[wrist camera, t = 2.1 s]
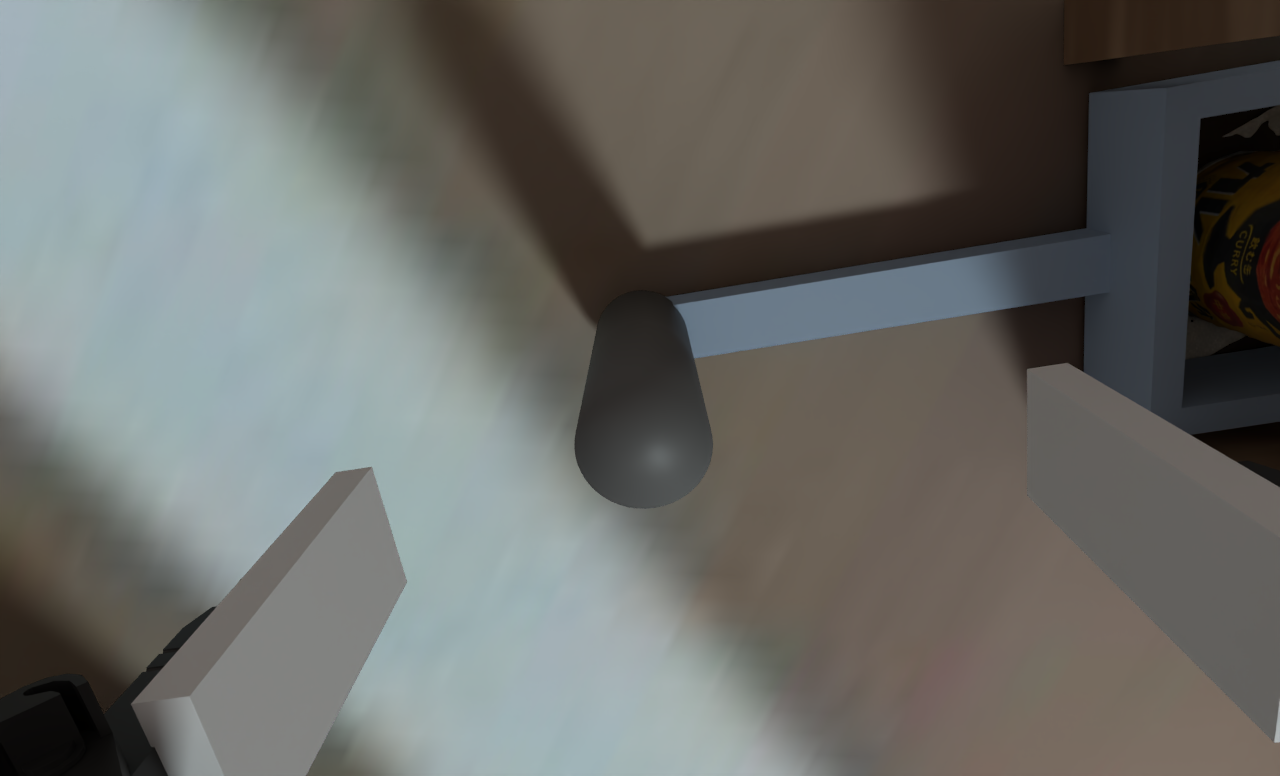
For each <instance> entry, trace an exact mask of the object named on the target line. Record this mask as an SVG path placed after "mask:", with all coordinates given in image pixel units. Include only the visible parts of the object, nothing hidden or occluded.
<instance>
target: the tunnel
mask: <svg viewBox="0 0 1280 776" xmlns="http://www.w3.org/2000/svg"><path fill="white" fill-rule="evenodd" d="M1273 36H1280V0H1064V65H1070V64H1077V63H1084V62H1091V61H1099V60H1106V59H1113V58H1121V57H1128V56H1135V55H1142V54H1150V53H1157V52H1164V51H1171V50H1179V49H1186V48H1193V47H1201V46H1208V45H1215V44H1222V43H1230V42H1237V41H1244V40H1251V39H1259V38H1266V37H1273ZM1191 436H1193V437H1195V438H1196V439H1198V440H1200V441H1202V442H1203V443H1205V444H1207V445H1208V446H1210V447H1212V448H1213V449H1215V450H1217V451H1219V452H1220V453H1222V454H1224V455H1225V456H1227V457H1229V458H1230V459H1232V460H1234V461H1236V462H1240V461H1247V460H1248V461H1251V462H1254V463H1257V464H1261V465H1264V466H1267V467H1270V468H1273V469H1276V470H1280V422H1274V423H1267V424H1260V425H1253V426H1247V427H1240V428H1233V429H1227V430H1220V431H1213V432H1206V433H1200V434H1193V435H1191Z"/></svg>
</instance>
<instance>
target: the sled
mask: <svg viewBox="0 0 1280 776" xmlns="http://www.w3.org/2000/svg"><path fill="white" fill-rule="evenodd" d="M1277 105H1280V60H1278V61H1272V62H1267V63H1261V64H1255V65H1249V66H1243V67H1238V68H1232V69H1226V70H1220V71H1214V72H1208V73H1203V74H1197V75H1191V76H1185V77H1179V78H1174V79H1168V80H1162V81H1156V82H1150V83H1145V84H1139V85H1133V86H1127V87H1121V88H1116V89H1110V90H1104V91H1098V92H1092V93H1089V131H1088V181H1087V228H1085V229H1078V230H1072V231H1066V232H1060V233H1054V234H1048V235H1042V236H1036V237H1029V238H1023V239H1017V240H1011V241H1005V242H999V243H993V244H987V245H981V246H974V247H968V248H962V249H956V250H950V251H944V252H938V253H932V254H925V255H919V256H913V257H907V258H901V259H895V260H889V261H883V262H876V263H870V264H864V265H858V266H852V267H846V268H840V269H834V270H828V271H821V272H815V273H809V274H803V275H797V276H791V277H785V278H779V279H772V280H766V281H760V282H754V283H748V284H742V285H736V286H730V287H723V288H717V289H711V290H705V291H699V292H693V293H687V294H681V295H675V296H668V297H665V296H663V295H661V294H658V293H655V292H651V291H633V292H628V293H626V294H623V295H621V296H619V297H617V298H616V299H615V300H613V301H612V302H611V303H610V304H609V305H608V306H607V307H606V308H605V310H604V311H603V313H602V315H601V317H600V319H599V322H598V326H597V331H596V336H595V341H594V346H593V350H592V355H591V360H590V365H589V370H588V375H587V380H586V385H585V390H584V395H583V400H582V405H581V410H580V415H579V419H578V424H577V429H576V435H575V455H576V460H577V463H578V466H579V468H580V471H581V473H582V474H583V476H584V478H585V479H586V481H587V482H588V483H589V484H590V486H591V487H592V488H593V489H594V490H595V491H597V492H598V493H599V494H600V495H602V496H603V497H605V498H606V499H608V500H610V501H612V502H614V503H617V504H619V505H623V506H626V507H632V508H645V509H646V508H656V507H660V506H664V505H667V504H670V503H673V502H675V501H677V500H679V499H681V498H682V497H684V496H685V495H687V494H688V493H689V492H690V491H692V490H693V489H694V488H695V487H696V486H697V485H698V483H699V482H700V481H701V479H702V478H703V477H704V475H705V473H706V471H707V469H708V466H709V464H710V461H711V456H712V449H713V441H712V433H711V429H710V424H709V420H708V416H707V412H706V407H705V403H704V399H703V395H702V390H701V386H700V382H699V378H698V374H697V369H696V365H695V361H694V358H700V357H706V356H712V355H719V354H725V353H731V352H738V351H744V350H750V349H756V348H763V347H769V346H775V345H782V344H788V343H794V342H800V341H807V340H813V339H819V338H826V337H832V336H838V335H844V334H851V333H857V332H863V331H870V330H876V329H882V328H888V327H895V326H901V325H907V324H914V323H920V322H926V321H933V320H939V319H945V318H951V317H958V316H964V315H970V314H977V313H983V312H989V311H995V310H1002V309H1008V308H1014V307H1021V306H1027V305H1033V304H1039V303H1046V302H1052V301H1058V300H1065V299H1071V298H1077V297H1083V296H1085V330H1084V373H1086V374H1087V375H1089V376H1091V377H1092V378H1094V379H1096V380H1098V381H1099V382H1101V383H1103V384H1104V385H1106V386H1108V387H1109V388H1111V389H1113V390H1115V391H1116V392H1118V393H1120V394H1121V395H1123V396H1125V397H1127V398H1128V399H1130V400H1132V401H1133V402H1135V403H1137V404H1138V405H1140V406H1142V407H1144V408H1145V409H1147V410H1149V411H1150V412H1152V413H1154V414H1156V415H1157V416H1159V417H1161V418H1162V419H1164V420H1166V421H1167V422H1169V423H1171V424H1173V425H1174V426H1176V427H1178V428H1179V429H1181V430H1183V431H1184V432H1186V433H1188V434H1190V435H1193V434H1200V433H1206V432H1213V431H1220V430H1227V429H1233V428H1240V427H1247V426H1253V425H1260V424H1267V423H1274V422H1280V347H1278V346H1270V347H1264V348H1257V349H1251V350H1244V351H1238V352H1231V353H1225V354H1218V355H1212V356H1205V357H1199V358H1192V359H1186V360H1185V353H1186V338H1187V322H1188V306H1189V291H1190V275H1191V260H1192V244H1193V228H1194V213H1195V197H1196V182H1197V166H1198V150H1199V135H1200V119H1201V118H1206V117H1212V116H1218V115H1224V114H1230V113H1236V112H1241V111H1247V110H1253V109H1259V108H1265V107H1271V106H1277Z"/></svg>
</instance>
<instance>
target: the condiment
mask: <svg viewBox="0 0 1280 776" xmlns="http://www.w3.org/2000/svg"><path fill="white" fill-rule="evenodd" d="M1265 121H1269V124H1268V126H1269V128H1270V129H1271V130H1273V131H1274V132H1275V134H1276V135H1280V105H1277V106H1275V107H1273V108H1272V109H1270V110H1268V111H1266V112H1265V113H1263V114H1262V115H1260V116H1259V117H1257V118H1255V119H1253V120H1251V121H1249V122H1247V123H1246V124H1244V125H1243V126H1241V127H1239V128H1237V129H1235V130H1233V131H1232V132H1230V133H1228V134H1226V135H1224V136H1223V137H1227V136H1232V135H1234V134H1239V135H1241V136H1243V137H1245V138H1248V137H1251V136H1252V135H1253V134H1254V133H1255V132H1256V131H1257V129H1258V128H1259V126H1260V125H1261V124H1262V123H1263V122H1265ZM1188 314H1189V315H1194V317H1191V316H1189V315H1188V322H1187V338H1186V353H1185V360H1186V359H1192V358H1199V357H1205V356H1210V355H1212V354H1213V353H1215V352H1217V351H1218V350H1220V349H1222V348H1223V347H1225V346H1227V345H1229V344H1231V343H1233V342H1235V341H1237V340H1239V339H1241V338H1243V337H1244V336H1245V335H1247V336H1249V337H1250V338H1255V339H1258V340H1260V341H1262V342H1265V343H1270V344H1274V345H1276V346H1278V347H1280V150H1279V151H1256V152H1254V151H1250V150H1249V151H1241V150H1239V151H1238V152H1235V153H1232V154H1230V155H1227V156H1223V157H1220V158H1219V159H1217V160H1214V161H1212V162H1208V163H1207V164H1205V165H1204V166H1203V167H1201V168H1200V169H1198V170H1197V182H1196V197H1195V213H1194V228H1193V244H1192V260H1191V275H1190V291H1189V306H1188ZM1197 317H1199V318H1197ZM1192 319H1193V320H1194V322H1191V320H1192Z"/></svg>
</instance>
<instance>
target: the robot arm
mask: <svg viewBox="0 0 1280 776" xmlns="http://www.w3.org/2000/svg"><path fill="white" fill-rule="evenodd" d="M1027 496H1028V497H1029V498H1030V499H1031V500H1032V501H1033V502H1034V503H1035V504H1036V505H1037V506H1038V507H1039V508H1040V509H1041V510H1042V511H1043V512H1044V513H1045V514H1046V515H1047V516H1048V517H1049V518H1050V519H1051V520H1052V521H1053V522H1054V523H1055V524H1056V525H1057V526H1058V527H1059V528H1060V529H1061V530H1062V531H1063V532H1064V533H1065V534H1066V535H1067V536H1068V537H1069V538H1070V539H1071V540H1072V541H1073V542H1074V543H1075V544H1076V545H1077V546H1078V547H1079V548H1080V549H1081V550H1082V551H1083V552H1084V553H1085V554H1086V555H1087V556H1088V557H1089V558H1090V559H1091V560H1092V561H1093V562H1094V563H1095V564H1096V565H1097V566H1098V567H1099V568H1100V569H1101V570H1102V571H1103V572H1104V573H1105V574H1106V575H1107V576H1108V577H1109V578H1110V579H1111V580H1112V581H1113V582H1114V583H1115V584H1116V585H1117V586H1118V587H1119V588H1120V589H1121V590H1122V591H1123V592H1124V593H1125V594H1126V595H1127V596H1128V597H1129V598H1130V599H1131V600H1132V601H1133V602H1134V603H1135V604H1136V605H1137V606H1138V607H1139V608H1140V609H1141V610H1142V611H1143V612H1144V613H1145V614H1146V615H1147V616H1148V617H1149V618H1150V619H1151V620H1152V621H1153V622H1154V623H1155V624H1156V625H1157V626H1158V627H1159V628H1160V629H1161V630H1162V631H1163V632H1164V633H1165V634H1166V635H1167V636H1168V637H1169V638H1170V639H1171V640H1172V641H1173V642H1174V643H1175V644H1176V645H1177V646H1178V647H1179V648H1180V649H1181V650H1182V651H1183V652H1184V653H1185V654H1186V655H1187V656H1188V657H1189V658H1190V659H1191V660H1192V661H1193V662H1194V663H1195V664H1196V665H1197V666H1198V667H1199V668H1200V669H1201V670H1202V671H1203V672H1204V673H1205V674H1206V675H1207V676H1208V677H1209V678H1210V679H1211V680H1212V681H1213V682H1214V683H1215V684H1216V685H1217V686H1218V687H1219V688H1220V689H1221V690H1222V691H1223V692H1224V693H1225V694H1226V695H1227V696H1228V697H1229V698H1230V699H1231V700H1232V701H1233V702H1234V703H1235V704H1236V705H1237V706H1238V707H1239V708H1240V709H1241V710H1242V711H1243V712H1244V713H1245V714H1246V715H1247V716H1248V717H1249V718H1250V719H1251V720H1252V721H1253V722H1254V723H1255V724H1256V725H1257V726H1258V727H1259V728H1260V729H1261V730H1262V731H1263V732H1264V733H1265V734H1266V735H1267V736H1268V737H1269V738H1270V739H1271V740H1272V741H1273V742H1274V743H1275V742H1280V470H1276V469H1273V468H1270V467H1267V466H1264V465H1261V464H1257V463H1254V462H1251V461H1248V460H1247V461H1240V462H1236V461H1234V460H1232V459H1230V458H1229V457H1227V456H1225V455H1224V454H1222V453H1220V452H1219V451H1217V450H1215V449H1213V448H1212V447H1210V446H1208V445H1207V444H1205V443H1203V442H1202V441H1200V440H1198V439H1196V438H1195V437H1193V436H1191V435H1190V434H1188V433H1186V432H1184V431H1183V430H1181V429H1179V428H1178V427H1176V426H1174V425H1173V424H1171V423H1169V422H1167V421H1166V420H1164V419H1162V418H1161V417H1159V416H1157V415H1156V414H1154V413H1152V412H1150V411H1149V410H1147V409H1145V408H1144V407H1142V406H1140V405H1138V404H1137V403H1135V402H1133V401H1132V400H1130V399H1128V398H1127V397H1125V396H1123V395H1121V394H1120V393H1118V392H1116V391H1115V390H1113V389H1111V388H1109V387H1108V386H1106V385H1104V384H1103V383H1101V382H1099V381H1098V380H1096V379H1094V378H1092V377H1091V376H1089V375H1087V374H1086V373H1084V372H1082V371H1081V370H1079V369H1077V368H1075V367H1074V366H1072V365H1070V364H1069V363H1063V364H1057V365H1050V366H1043V367H1037V368H1030V369H1027ZM406 583H407V580H406V577H405V574H404V570H403V567H402V564H401V561H400V557H399V554H398V551H397V547H396V544H395V541H394V538H393V534H392V531H391V528H390V525H389V521H388V518H387V515H386V512H385V508H384V505H383V502H382V499H381V495H380V492H379V489H378V485H377V482H376V479H375V476H374V472H373V469H372V467H368V468H361V469H355V470H348V471H341V472H336V473H335V474H334V475H333V476H332V477H331V478H330V479H329V481H328V482H327V483H326V484H325V485H324V486H323V487H322V488H321V490H320V491H319V492H318V493H317V494H316V495H315V496H314V497H313V499H312V500H311V501H310V502H309V503H308V504H307V505H306V507H305V508H304V509H303V510H302V511H301V512H300V513H299V514H298V516H297V517H296V518H295V519H294V520H293V521H292V522H291V523H290V525H289V526H288V527H287V528H286V529H285V530H284V531H283V533H282V534H281V535H280V536H279V537H278V538H277V539H276V540H275V542H274V543H273V544H272V545H271V546H270V547H269V548H268V550H267V551H266V552H265V553H264V554H263V555H262V556H261V557H260V559H259V560H258V561H257V562H256V563H255V564H254V565H253V566H252V568H251V569H250V570H249V571H248V572H247V573H246V574H245V576H244V577H243V578H242V579H241V580H240V581H239V582H238V583H237V585H236V586H235V587H234V588H233V589H232V590H231V591H230V592H229V594H228V595H227V596H226V597H225V598H224V599H223V600H222V602H221V603H220V604H219V605H218V606H217V607H212V608H210V609H209V610H207V611H206V612H205V613H203V614H202V615H200V616H199V617H198V618H196V619H195V620H193V621H192V622H191V623H189V624H188V625H186V626H185V627H183V628H182V630H181V631H180V632H179V633H178V634H177V635H176V636H175V637H174V638H173V639H172V640H171V642H170V643H169V644H168V645H167V646H166V647H165V648H164V649H163V654H159V655H158V656H157V657H156V658H155V659H154V660H153V661H152V662H151V663H150V665H149V666H148V667H147V671H146V672H142V673H141V674H140V675H139V677H138V678H137V679H136V680H135V681H134V682H133V683H132V684H131V685H130V686H129V688H128V689H127V690H126V691H125V692H124V693H123V694H122V695H121V696H120V697H119V698H118V700H117V701H116V702H115V703H114V704H113V705H112V706H111V707H110V708H109V709H108V710H107V712H106V713H105V714H103V712H102V710H101V708H100V706H99V704H98V702H97V700H96V698H95V696H94V693H93V691H92V689H91V687H90V685H89V683H88V681H87V680H86V679H85V678H84V677H83V676H82V675H76V674H63V675H58V676H53V677H48V678H45V679H43V680H40V681H37V682H35V683H32V684H29V685H27V686H24V687H22V688H20V689H18V690H16V691H14V692H13V693H11V694H9V695H7V696H5V697H3V698H1V699H0V776H306V775H307V773H308V771H309V769H310V767H311V765H312V763H313V761H314V759H315V757H316V755H317V753H318V752H319V750H320V748H321V746H322V744H323V742H324V740H325V738H326V736H327V734H328V732H329V730H330V729H331V727H332V725H333V723H334V721H335V719H336V717H337V715H338V713H339V711H340V709H341V707H342V706H343V704H344V702H345V700H346V698H347V696H348V694H349V692H350V690H351V688H352V686H353V685H354V683H355V681H356V679H357V677H358V675H359V673H360V671H361V669H362V667H363V665H364V663H365V662H366V660H367V658H368V656H369V654H370V652H371V650H372V648H373V646H374V644H375V642H376V640H377V639H378V637H379V635H380V633H381V631H382V629H383V627H384V625H385V623H386V621H387V619H388V617H389V616H390V614H391V612H392V610H393V608H394V606H395V604H396V602H397V600H398V598H399V596H400V594H401V593H402V591H403V589H404V587H405V585H406Z"/></svg>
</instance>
